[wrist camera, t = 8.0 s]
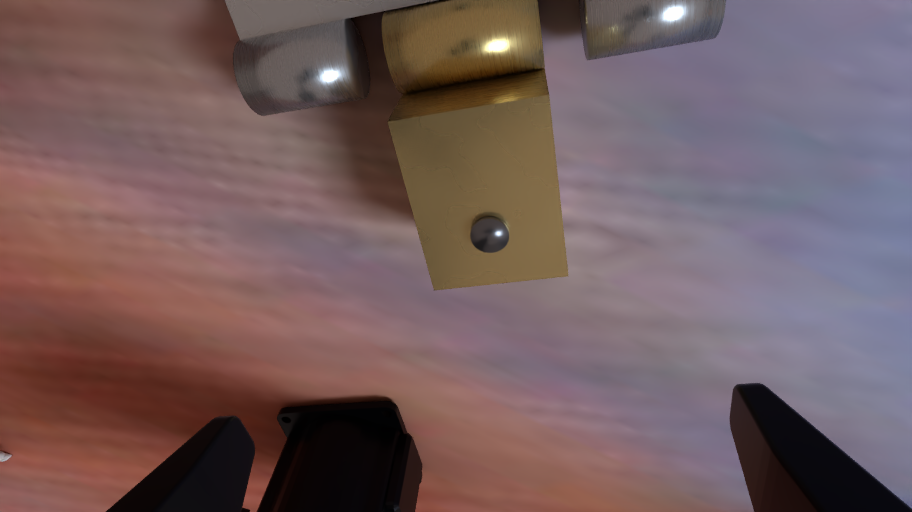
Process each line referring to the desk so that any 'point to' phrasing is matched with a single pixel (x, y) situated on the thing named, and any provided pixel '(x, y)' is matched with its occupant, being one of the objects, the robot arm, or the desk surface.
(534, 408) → the desk surface
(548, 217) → the brass leaf
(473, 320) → the desk surface
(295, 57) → the steel leaf
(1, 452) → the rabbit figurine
